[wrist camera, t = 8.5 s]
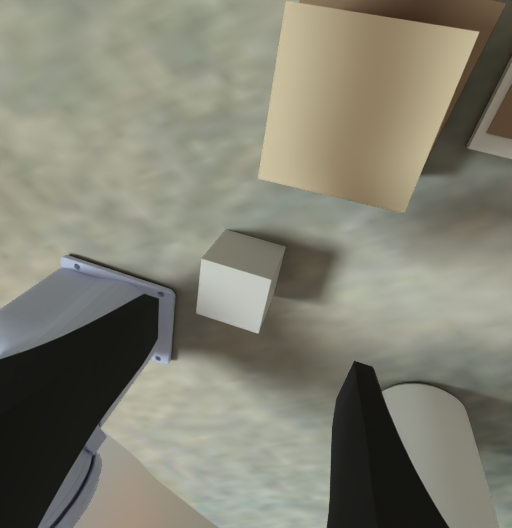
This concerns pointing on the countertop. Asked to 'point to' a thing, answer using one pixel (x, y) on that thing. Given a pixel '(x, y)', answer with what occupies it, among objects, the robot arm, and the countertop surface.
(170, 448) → the countertop surface
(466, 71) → the walnut block
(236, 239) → the grey cube
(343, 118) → the maple cube
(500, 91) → the card
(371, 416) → the robot arm
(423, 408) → the can
